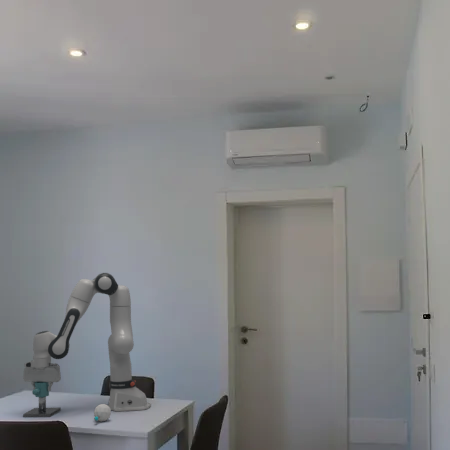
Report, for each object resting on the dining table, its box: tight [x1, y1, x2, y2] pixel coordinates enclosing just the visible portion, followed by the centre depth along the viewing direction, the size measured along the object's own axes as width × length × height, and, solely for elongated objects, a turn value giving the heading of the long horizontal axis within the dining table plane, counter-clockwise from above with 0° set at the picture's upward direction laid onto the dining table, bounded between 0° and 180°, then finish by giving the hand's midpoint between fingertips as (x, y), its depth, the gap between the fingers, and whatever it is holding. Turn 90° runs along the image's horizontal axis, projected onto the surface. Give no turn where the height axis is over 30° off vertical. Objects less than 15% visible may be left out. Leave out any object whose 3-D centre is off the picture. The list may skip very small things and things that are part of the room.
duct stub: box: [22, 396, 62, 418], centre depth 301 cm, size 14×14×12 cm
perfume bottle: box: [93, 403, 112, 422], centre depth 280 cm, size 8×8×12 cm
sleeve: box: [31, 382, 50, 398], centre depth 300 cm, size 9×6×7 cm
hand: (42, 390), depth 302 cm, fingers closed on sleeve, 6 cm apart
